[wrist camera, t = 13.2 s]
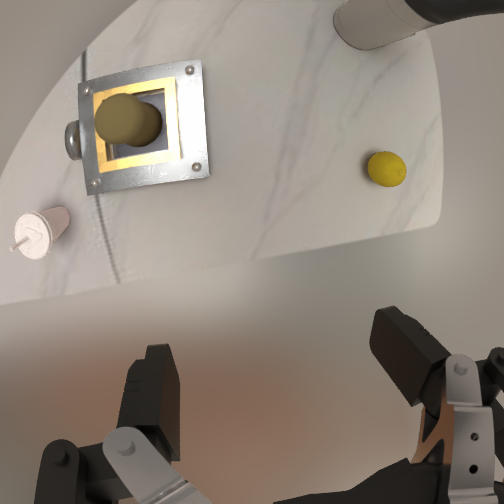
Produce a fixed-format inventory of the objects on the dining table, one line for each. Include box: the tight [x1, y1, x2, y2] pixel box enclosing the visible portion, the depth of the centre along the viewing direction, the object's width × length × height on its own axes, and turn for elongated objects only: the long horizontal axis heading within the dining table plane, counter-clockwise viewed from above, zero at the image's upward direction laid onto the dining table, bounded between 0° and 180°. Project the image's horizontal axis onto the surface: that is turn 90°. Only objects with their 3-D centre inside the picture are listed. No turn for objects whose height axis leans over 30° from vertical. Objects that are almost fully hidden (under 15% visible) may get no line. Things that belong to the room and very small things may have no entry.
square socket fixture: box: [65, 59, 209, 196], centre depth 32 cm, size 19×16×6 cm
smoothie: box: [10, 206, 70, 260], centre depth 31 cm, size 6×6×14 cm
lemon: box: [368, 151, 406, 187], centre depth 39 cm, size 6×6×8 cm
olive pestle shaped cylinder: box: [94, 93, 163, 147], centre depth 26 cm, size 6×6×11 cm
